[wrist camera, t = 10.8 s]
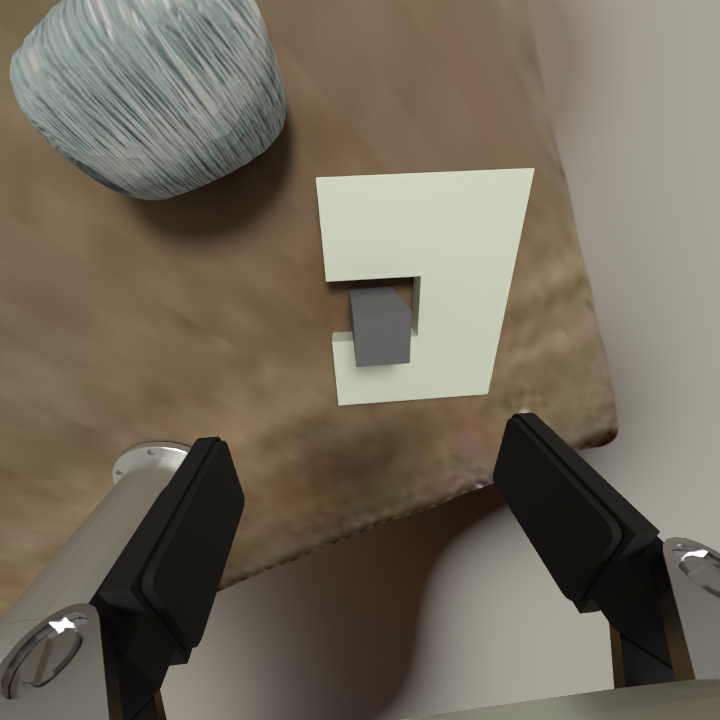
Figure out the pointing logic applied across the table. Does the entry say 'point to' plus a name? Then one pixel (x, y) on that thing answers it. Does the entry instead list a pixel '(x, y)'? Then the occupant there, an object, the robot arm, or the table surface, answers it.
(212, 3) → the streaked blue-grey ovoid
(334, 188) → the board
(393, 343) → the gray rectangular block
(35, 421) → the table surface
